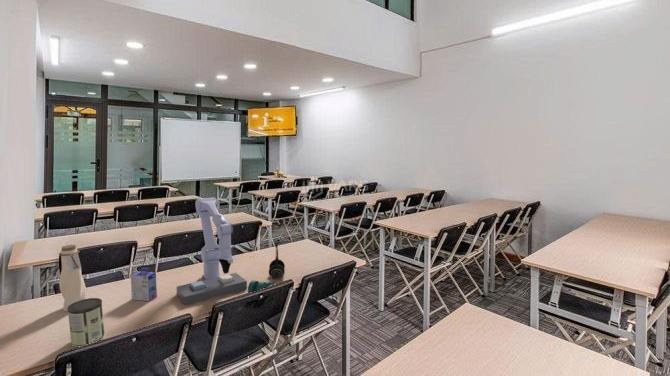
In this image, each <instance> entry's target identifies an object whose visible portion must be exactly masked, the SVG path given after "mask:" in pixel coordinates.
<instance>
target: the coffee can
mask: <svg viewBox="0 0 670 376" xmlns="http://www.w3.org/2000/svg"><path fill="white" fill-rule="evenodd" d="M102 303H103V300H102V299H101V298H99V297H91V298H86V299H84V300H80V301H77V302H75V303H73V304H71V305H69V306H68V308H67V310H68V311H67V315H68V324H69V333H70V343H71V344H72V345H73V346H75V347H74V348H76V347H79V346H83V345H86V344H89V343H92V342H96V341H99V340H101V341H102V340H103V339H104V338H105V336H106V335H105V327H104V315H103V313H104V312H103V304H102ZM99 342H100V341H99ZM72 345H71V346H72ZM73 346H72V347H73Z"/></svg>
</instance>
